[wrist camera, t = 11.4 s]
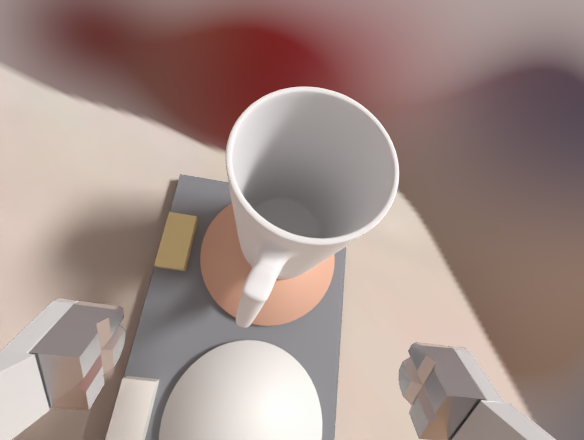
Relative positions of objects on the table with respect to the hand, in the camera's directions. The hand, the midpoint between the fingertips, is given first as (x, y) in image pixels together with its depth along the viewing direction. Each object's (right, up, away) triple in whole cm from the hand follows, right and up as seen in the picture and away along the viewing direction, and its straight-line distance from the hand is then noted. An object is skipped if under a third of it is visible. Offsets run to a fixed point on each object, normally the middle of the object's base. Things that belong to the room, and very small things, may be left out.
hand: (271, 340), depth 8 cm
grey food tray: (-3, -5, +13) cm, 14 cm away
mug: (-1, +1, +14) cm, 14 cm away
